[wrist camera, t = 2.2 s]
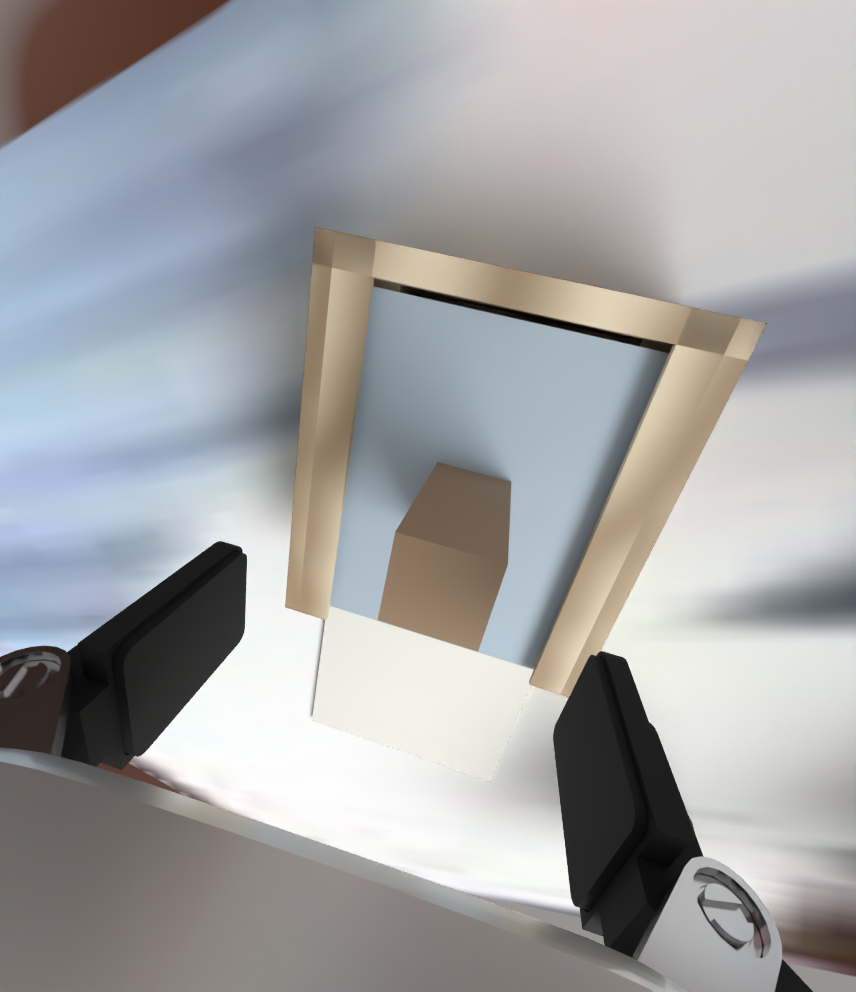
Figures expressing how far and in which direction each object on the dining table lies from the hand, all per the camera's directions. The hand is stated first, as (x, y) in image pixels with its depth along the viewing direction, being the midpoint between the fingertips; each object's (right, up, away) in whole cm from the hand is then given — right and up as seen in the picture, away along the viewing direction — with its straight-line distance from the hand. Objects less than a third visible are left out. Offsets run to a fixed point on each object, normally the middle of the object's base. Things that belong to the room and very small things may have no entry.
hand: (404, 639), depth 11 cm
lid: (+3, +4, +9) cm, 10 cm away
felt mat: (0, -11, +21) cm, 24 cm away
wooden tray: (+4, +6, +14) cm, 15 cm away
